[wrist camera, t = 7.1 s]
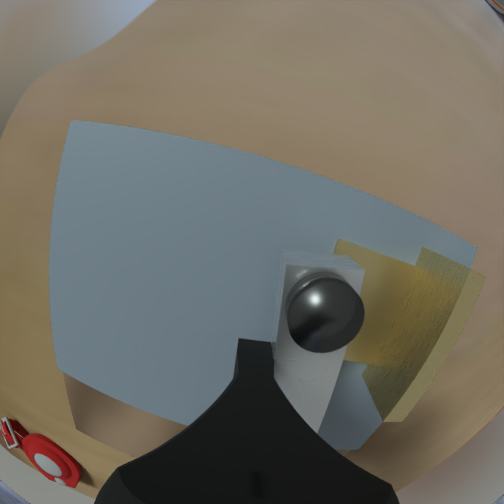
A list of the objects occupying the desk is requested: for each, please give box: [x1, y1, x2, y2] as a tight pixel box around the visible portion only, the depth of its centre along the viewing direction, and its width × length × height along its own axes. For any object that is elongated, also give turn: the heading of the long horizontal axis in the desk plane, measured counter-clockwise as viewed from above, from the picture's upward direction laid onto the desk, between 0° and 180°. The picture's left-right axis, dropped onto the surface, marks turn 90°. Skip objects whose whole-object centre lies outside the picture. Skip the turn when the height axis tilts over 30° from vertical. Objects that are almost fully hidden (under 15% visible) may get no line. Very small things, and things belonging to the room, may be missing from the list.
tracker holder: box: [0, 417, 82, 488], centre depth 17 cm, size 12×4×10 cm
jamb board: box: [63, 372, 350, 458], centre depth 13 cm, size 18×7×3 cm, turn 73°
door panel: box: [49, 120, 478, 450], centre depth 11 cm, size 18×13×2 cm
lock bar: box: [271, 250, 365, 433], centre depth 8 cm, size 15×3×2 cm, turn 176°
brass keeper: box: [332, 238, 486, 422], centre depth 8 cm, size 4×6×3 cm
